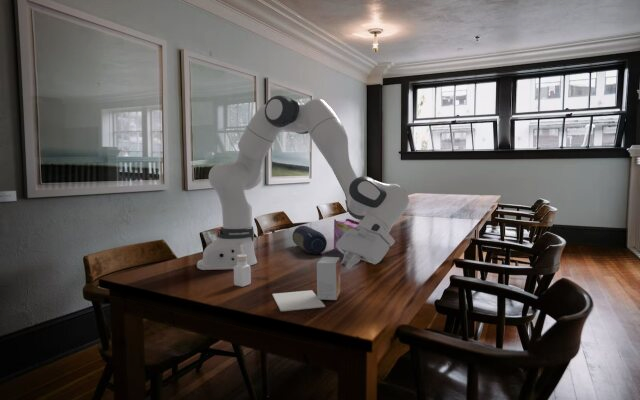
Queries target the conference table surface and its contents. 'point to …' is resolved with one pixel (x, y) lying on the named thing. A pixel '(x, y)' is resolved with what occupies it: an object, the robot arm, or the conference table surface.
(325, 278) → the small box
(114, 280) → the conference table surface
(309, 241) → the portable speaker
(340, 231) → the gum box
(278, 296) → the mat
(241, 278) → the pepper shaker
